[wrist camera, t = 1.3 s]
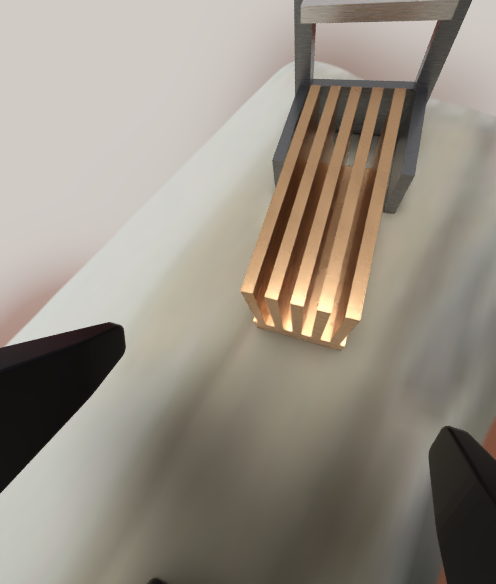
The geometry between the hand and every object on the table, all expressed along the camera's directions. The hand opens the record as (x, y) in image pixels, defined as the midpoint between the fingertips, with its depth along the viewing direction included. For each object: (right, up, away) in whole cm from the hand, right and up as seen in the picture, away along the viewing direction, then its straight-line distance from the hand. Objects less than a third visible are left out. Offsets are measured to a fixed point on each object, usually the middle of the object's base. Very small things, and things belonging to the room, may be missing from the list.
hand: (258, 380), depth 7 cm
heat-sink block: (+5, +5, +14) cm, 16 cm away
